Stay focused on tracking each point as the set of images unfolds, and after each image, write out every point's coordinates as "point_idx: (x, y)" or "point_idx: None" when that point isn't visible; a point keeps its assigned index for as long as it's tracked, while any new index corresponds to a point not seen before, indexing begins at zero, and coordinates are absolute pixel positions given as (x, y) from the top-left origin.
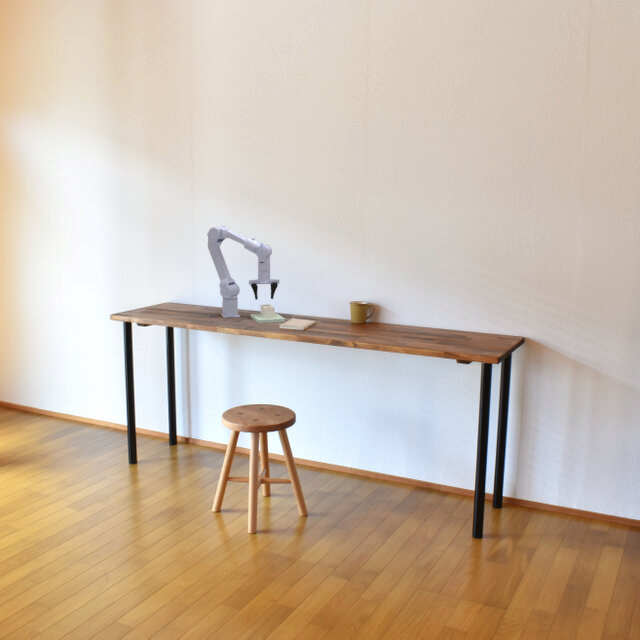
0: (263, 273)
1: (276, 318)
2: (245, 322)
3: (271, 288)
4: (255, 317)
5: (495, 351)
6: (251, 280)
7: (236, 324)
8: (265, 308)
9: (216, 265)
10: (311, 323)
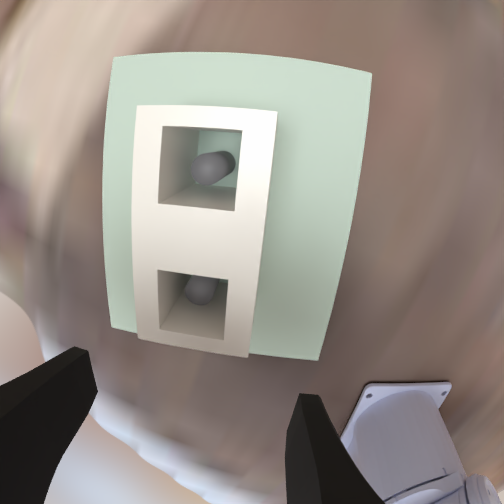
0: None
1: (174, 84)
2: (430, 182)
3: (26, 479)
4: (345, 210)
5: None
6: None
7: (500, 142)
8: (270, 111)
9: None
10: (21, 14)
